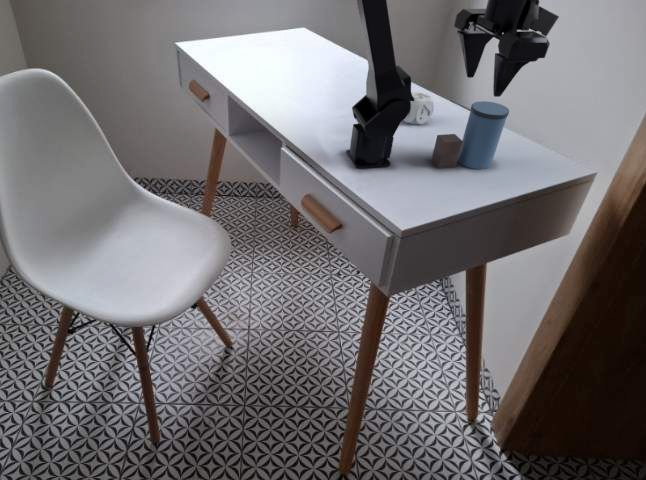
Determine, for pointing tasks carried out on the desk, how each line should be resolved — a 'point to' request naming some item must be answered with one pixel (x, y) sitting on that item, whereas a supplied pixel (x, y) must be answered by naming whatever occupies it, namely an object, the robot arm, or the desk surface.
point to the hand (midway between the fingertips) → (483, 86)
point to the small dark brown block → (446, 150)
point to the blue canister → (482, 134)
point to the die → (420, 109)
